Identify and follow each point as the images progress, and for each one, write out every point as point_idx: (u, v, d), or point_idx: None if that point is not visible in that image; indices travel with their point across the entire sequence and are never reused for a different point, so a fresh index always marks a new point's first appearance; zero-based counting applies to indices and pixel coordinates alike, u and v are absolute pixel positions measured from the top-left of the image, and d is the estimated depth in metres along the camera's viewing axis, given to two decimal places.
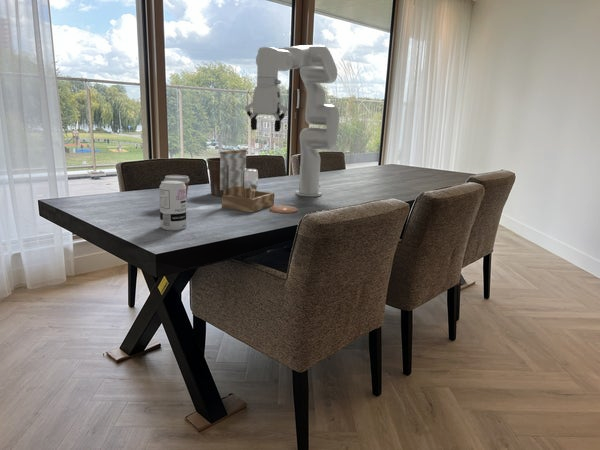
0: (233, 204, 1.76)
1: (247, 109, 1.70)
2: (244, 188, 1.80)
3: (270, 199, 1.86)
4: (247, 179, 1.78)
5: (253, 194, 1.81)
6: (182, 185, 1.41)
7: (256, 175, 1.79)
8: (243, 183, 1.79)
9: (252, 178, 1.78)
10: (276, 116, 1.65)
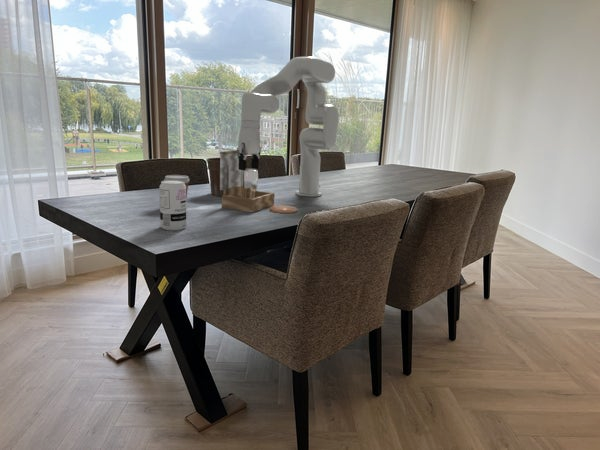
0: (233, 204, 1.76)
1: (240, 151, 1.71)
2: (244, 188, 1.80)
3: (270, 199, 1.86)
4: (247, 179, 1.78)
5: (253, 194, 1.81)
6: (182, 185, 1.41)
7: (256, 175, 1.79)
8: (243, 183, 1.79)
9: (252, 178, 1.78)
10: (258, 155, 1.83)
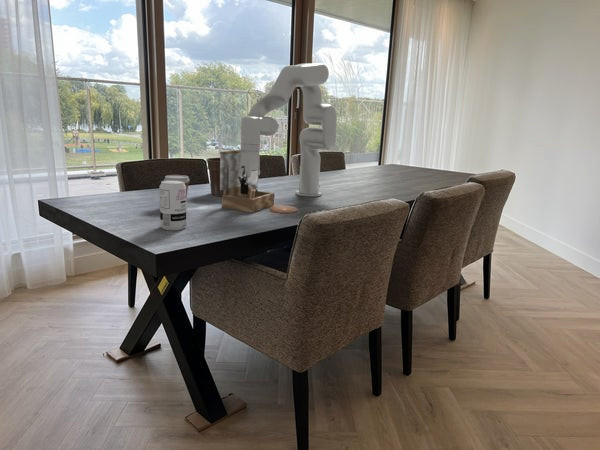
0: (233, 204, 1.76)
1: (242, 177, 1.75)
2: None
3: (270, 199, 1.86)
4: None
5: (253, 194, 1.81)
6: (182, 185, 1.41)
7: (256, 175, 1.79)
8: None
9: (252, 178, 1.78)
10: None
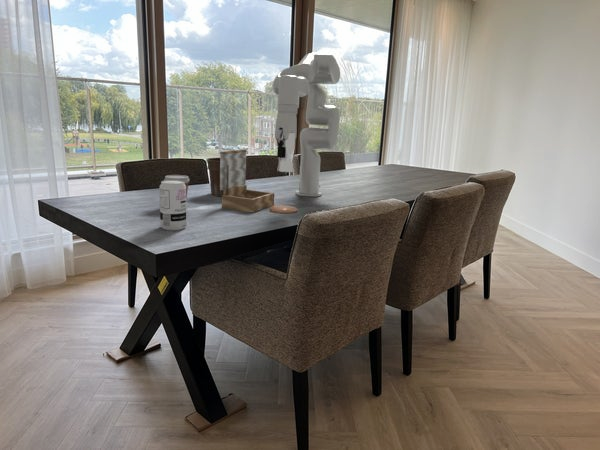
0: (233, 204, 1.76)
1: (279, 139, 1.67)
2: None
3: (270, 199, 1.86)
4: None
5: (290, 158, 1.73)
6: (182, 185, 1.41)
7: (293, 138, 1.72)
8: None
9: (290, 141, 1.70)
10: None
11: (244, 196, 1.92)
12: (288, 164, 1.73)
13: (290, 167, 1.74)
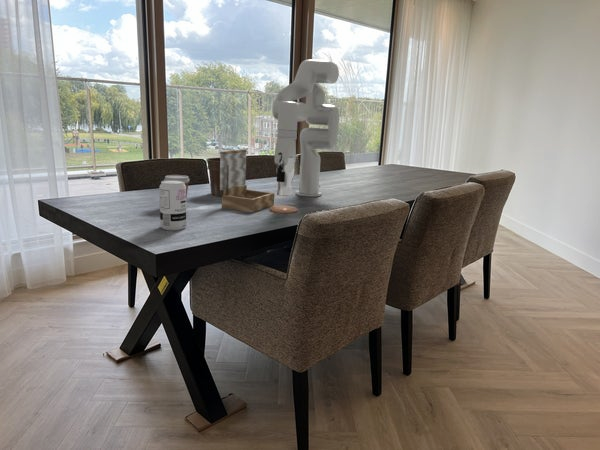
0: (233, 204, 1.76)
1: (279, 164, 1.69)
2: None
3: (270, 199, 1.86)
4: None
5: (289, 182, 1.75)
6: (182, 185, 1.41)
7: (293, 162, 1.74)
8: None
9: (289, 165, 1.73)
10: None
11: (244, 196, 1.92)
12: (287, 188, 1.75)
13: (289, 191, 1.76)
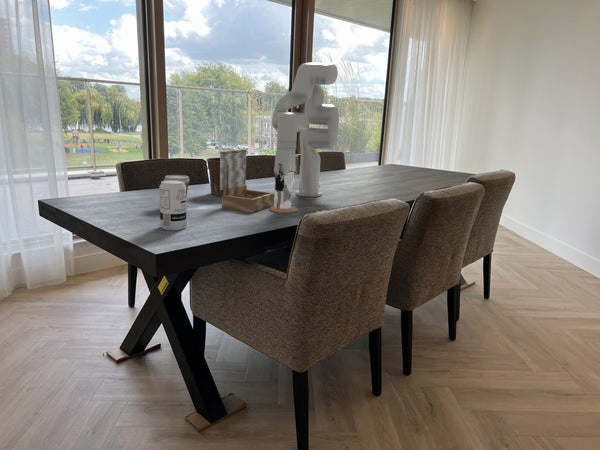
0: (233, 204, 1.76)
1: (277, 172, 1.69)
2: None
3: (270, 199, 1.86)
4: (284, 180, 1.74)
5: (289, 196, 1.77)
6: (182, 185, 1.41)
7: (292, 176, 1.75)
8: None
9: (289, 179, 1.74)
10: None
11: (244, 196, 1.92)
12: (287, 202, 1.77)
13: (289, 205, 1.78)
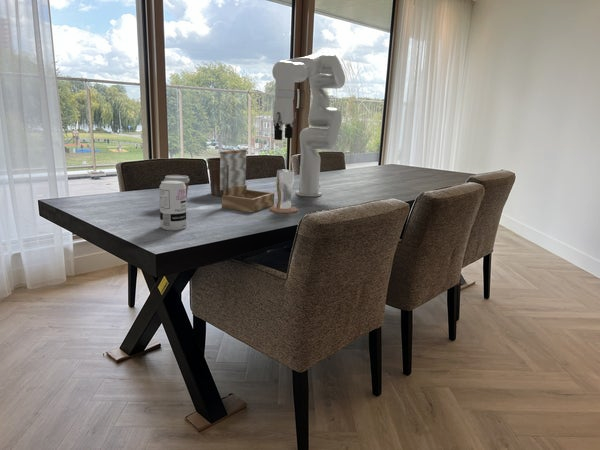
0: (233, 204, 1.76)
1: (277, 121, 1.72)
2: (280, 190, 1.76)
3: (270, 199, 1.86)
4: (284, 180, 1.74)
5: (289, 196, 1.77)
6: (182, 185, 1.41)
7: (292, 176, 1.75)
8: (279, 185, 1.75)
9: (289, 179, 1.74)
10: (291, 124, 1.84)
11: (244, 196, 1.92)
12: (287, 202, 1.77)
13: (289, 205, 1.78)
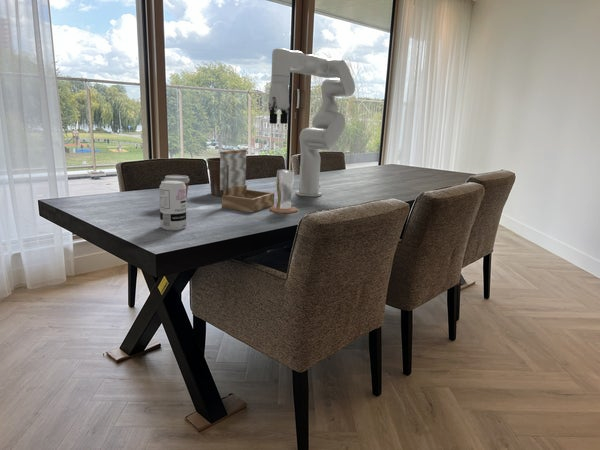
0: (233, 204, 1.76)
1: (272, 105, 1.80)
2: (280, 190, 1.76)
3: (270, 199, 1.86)
4: (284, 180, 1.74)
5: (289, 196, 1.77)
6: (182, 185, 1.41)
7: (292, 176, 1.75)
8: (279, 185, 1.75)
9: (289, 179, 1.74)
10: (287, 110, 1.91)
11: (244, 196, 1.92)
12: (287, 202, 1.77)
13: (289, 205, 1.78)
